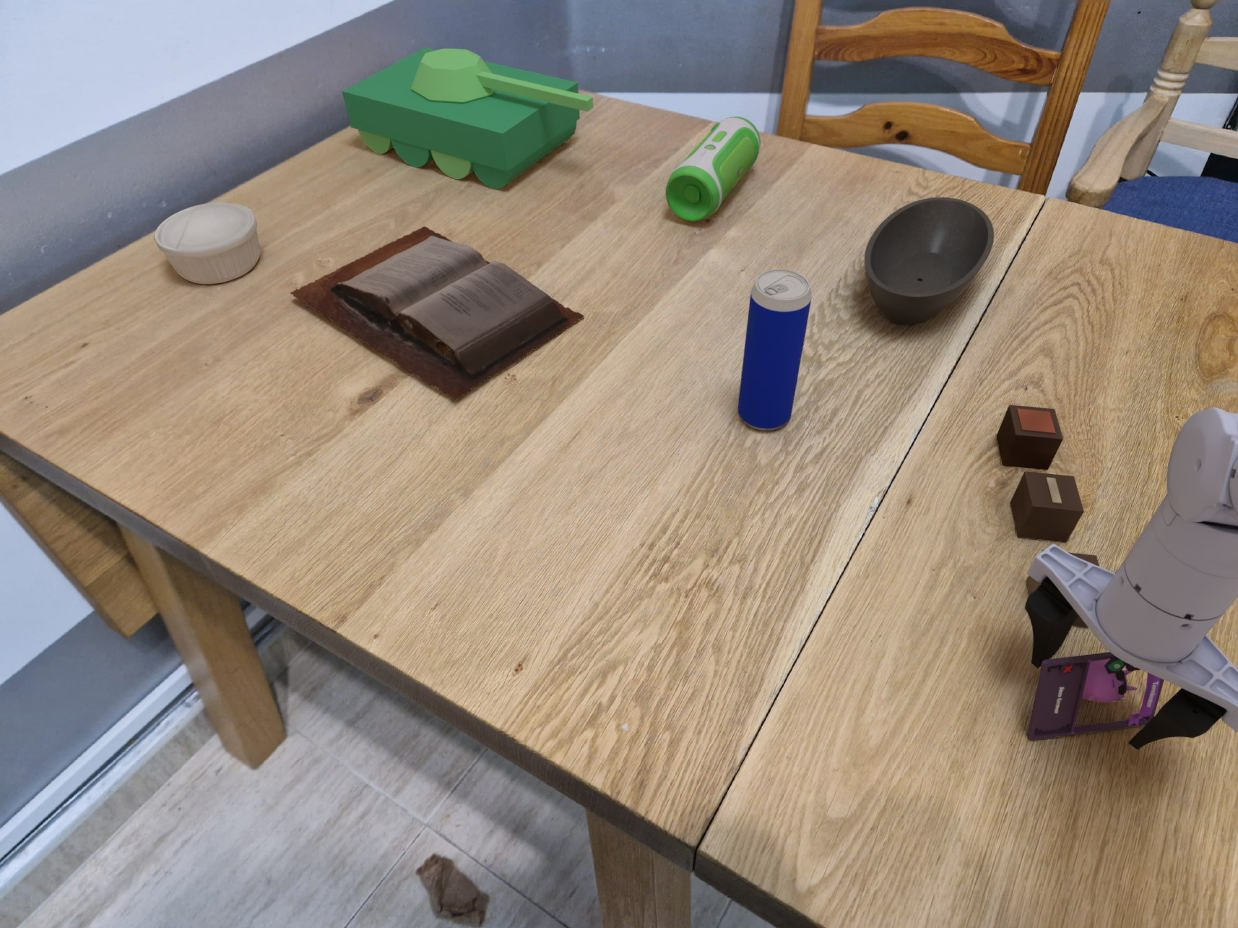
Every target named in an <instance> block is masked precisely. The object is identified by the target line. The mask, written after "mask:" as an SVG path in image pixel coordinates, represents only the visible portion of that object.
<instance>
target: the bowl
mask: <svg viewBox="0 0 1238 928" xmlns="http://www.w3.org/2000/svg"><path fill="white" fill-rule="evenodd" d="M994 241H995V231H994V226H993V222H992V220H991V219H990V217H989V216H988V215H987V214H986V212H984V211H983V210H982V209H981V208H980V207H978V206H977V205H975V204H973V203H971V202H969V201H966V200H963V199H959V198H954V197H946V196H938V197H928V198H927V197H926V198H922V199H918V200H916V201H912V202H910V203H908V204H905V205H904V206H902V207H900V208H897V209H896V210H895V211H894V212H892V213H891V214H889V215H888V216H887V217H886V218H885V219H884V220H883V221H881V223H880V224H879V225H878V226H877V227H876V228H875V230H874V232H872V234H871V236H870V237H869V239H868V242H867V245H866V247H865V251H864V260H863V261H864V272H865V279H866V284H867V288H868V292H869V294H870V297H871V299H872V302H873V304H874V305H875V307H876V308H877V310H878V311H879V312H880V313H881V315H882V316H883V317H884V318H885V319H886V320H887V321H889V322H891V323H892V324H896V325H900V326H915V325H918V324H922V323H923V322H927V321H928V320H930V319H932V318H934V317H935V316H936V315H938V314H940V313H941V312H943V311H944V310H945V309H947V308H948V307H949V306H950V305H951V304H952V303H954V302H955V301H956V300H957V299H958V298H959V297H960V296H961V295H962V294H963V293H964V292H965V290H966V289H967V288H968V287H969V286H970V284H971V283H972V282H973V281H974V279H975V278H976V277H977V275H978V274H979V273H980V271H981V270H982V268H983V266H984V265H985V263H986V261H987V260H988V259H989V256H990V254H991V253H992V252H991V251H992V250H993V246H994Z"/></svg>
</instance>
